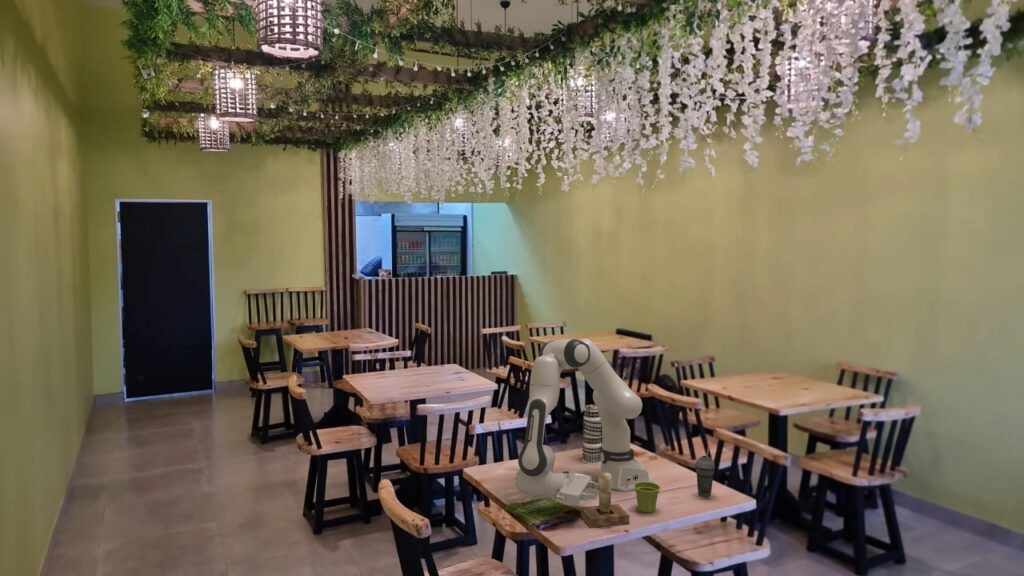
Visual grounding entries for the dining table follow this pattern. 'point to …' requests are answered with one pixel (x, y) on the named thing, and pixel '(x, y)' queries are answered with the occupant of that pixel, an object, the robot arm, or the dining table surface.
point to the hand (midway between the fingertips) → (598, 491)
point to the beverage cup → (704, 475)
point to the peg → (605, 493)
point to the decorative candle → (592, 435)
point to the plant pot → (646, 496)
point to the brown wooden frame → (605, 516)
